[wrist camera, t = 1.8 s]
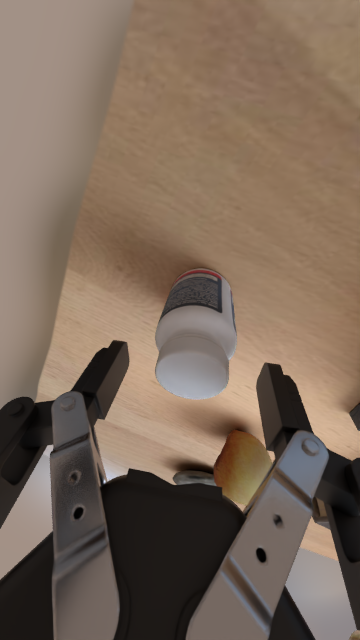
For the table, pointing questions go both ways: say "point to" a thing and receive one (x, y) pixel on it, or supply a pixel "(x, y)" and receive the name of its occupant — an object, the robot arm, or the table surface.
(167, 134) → the table surface
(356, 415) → the tray
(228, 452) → the fruit
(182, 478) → the stone
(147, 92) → the table surface
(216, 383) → the pill bottle
